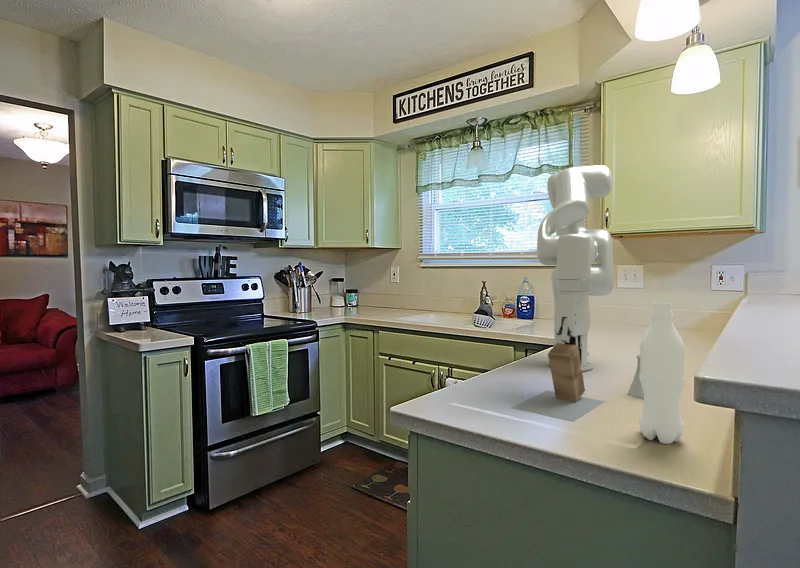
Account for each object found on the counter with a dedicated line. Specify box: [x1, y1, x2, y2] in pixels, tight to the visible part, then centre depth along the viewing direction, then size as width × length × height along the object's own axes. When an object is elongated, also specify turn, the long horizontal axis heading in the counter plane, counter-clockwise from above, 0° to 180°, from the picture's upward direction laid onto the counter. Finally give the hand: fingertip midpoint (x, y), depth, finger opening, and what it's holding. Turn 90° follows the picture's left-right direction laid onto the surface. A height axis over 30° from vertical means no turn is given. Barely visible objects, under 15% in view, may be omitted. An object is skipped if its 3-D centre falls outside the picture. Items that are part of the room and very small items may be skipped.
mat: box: [510, 390, 606, 423], centre depth 104 cm, size 18×14×1 cm
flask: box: [627, 354, 644, 400], centre depth 111 cm, size 7×7×10 cm
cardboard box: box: [547, 343, 586, 402], centre depth 107 cm, size 5×5×12 cm
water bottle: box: [638, 301, 686, 445], centre depth 84 cm, size 7×7×25 cm
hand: (573, 364), depth 110 cm, fingers closed
